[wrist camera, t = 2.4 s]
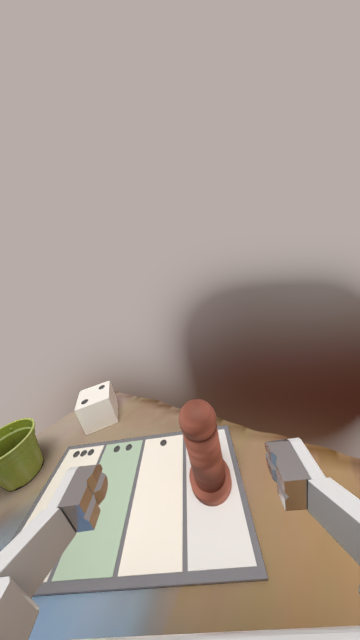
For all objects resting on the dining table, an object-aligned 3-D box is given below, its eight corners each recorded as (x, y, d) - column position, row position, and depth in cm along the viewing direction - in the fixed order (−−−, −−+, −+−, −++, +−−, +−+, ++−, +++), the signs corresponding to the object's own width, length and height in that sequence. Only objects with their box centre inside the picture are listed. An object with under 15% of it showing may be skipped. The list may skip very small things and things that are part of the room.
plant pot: (10, 512, 29) (-19, 476, 27) (-19, 494, 33) (-47, 460, 30) (63, 454, 37) (45, 421, 35) (35, 444, 41) (17, 414, 38)
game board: (-23, 600, 21) (-25, 597, 21) (69, 448, 38) (68, 446, 38) (268, 580, 19) (267, 577, 19) (227, 426, 36) (227, 424, 36)
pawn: (192, 508, 25) (169, 428, 20) (190, 461, 31) (172, 391, 26) (236, 504, 24) (223, 421, 20) (226, 457, 30) (214, 385, 26)
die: (86, 435, 41) (74, 410, 38) (90, 413, 47) (80, 390, 45) (118, 422, 42) (108, 397, 40) (117, 402, 49) (109, 380, 47)
